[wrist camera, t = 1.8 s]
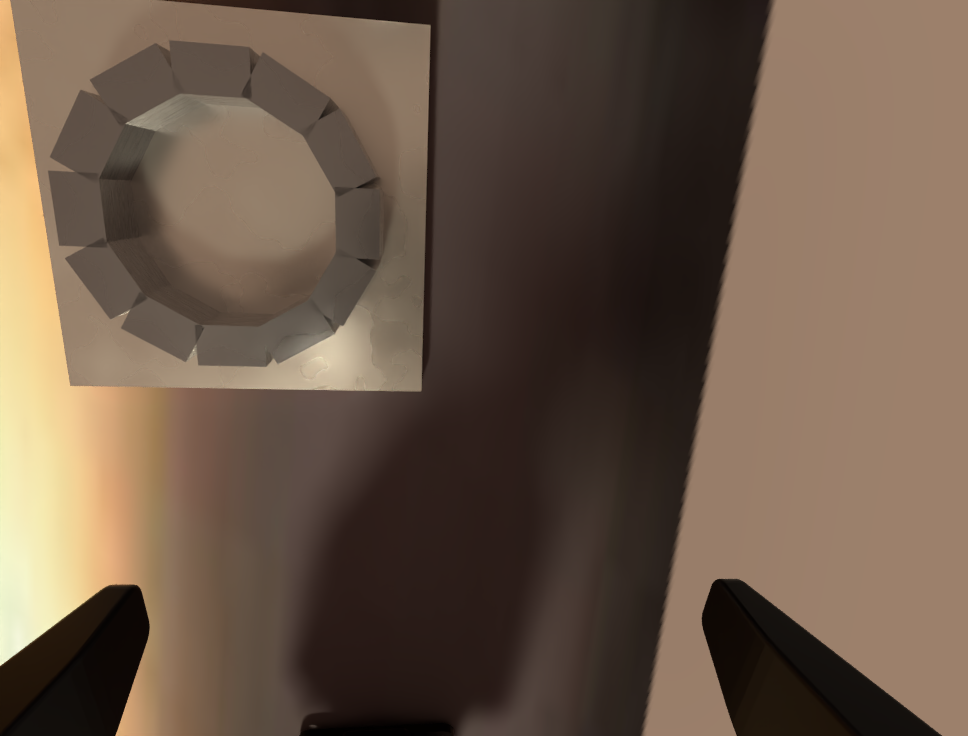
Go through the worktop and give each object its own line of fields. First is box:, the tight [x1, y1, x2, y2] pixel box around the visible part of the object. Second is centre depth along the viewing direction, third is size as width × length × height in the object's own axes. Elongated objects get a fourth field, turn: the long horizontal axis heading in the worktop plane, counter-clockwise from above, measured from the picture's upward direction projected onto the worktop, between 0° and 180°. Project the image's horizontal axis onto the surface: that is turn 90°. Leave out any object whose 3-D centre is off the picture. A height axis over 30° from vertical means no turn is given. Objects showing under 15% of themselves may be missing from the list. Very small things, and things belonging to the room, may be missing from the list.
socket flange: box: [10, 0, 431, 391], centre depth 17 cm, size 11×11×3 cm
